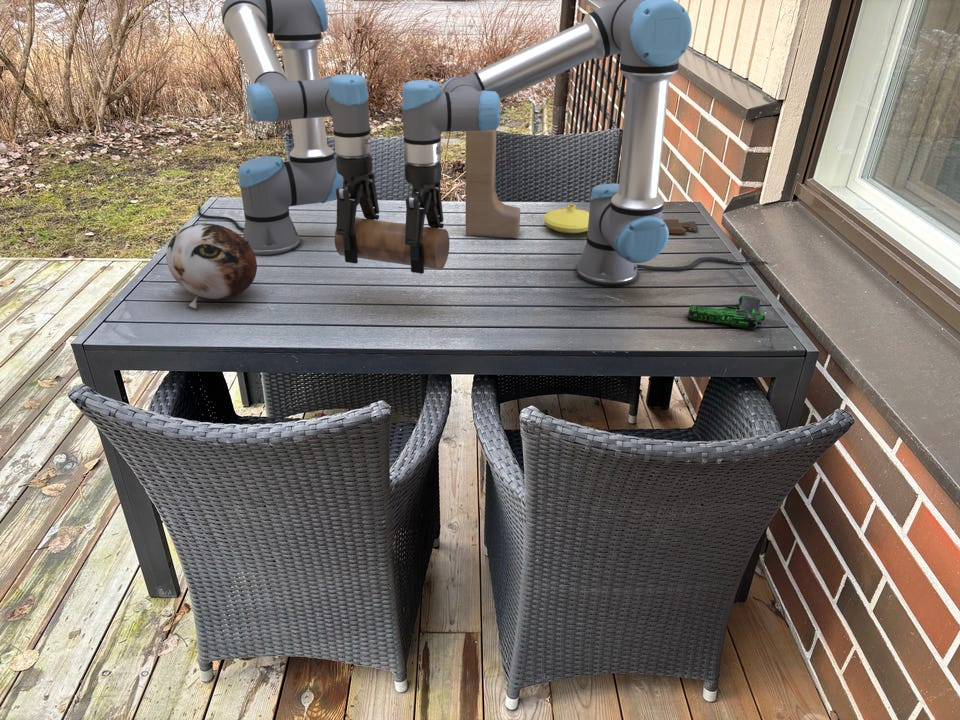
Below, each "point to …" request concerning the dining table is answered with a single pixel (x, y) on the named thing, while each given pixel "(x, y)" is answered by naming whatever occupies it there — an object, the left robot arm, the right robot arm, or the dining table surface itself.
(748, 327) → the handgun
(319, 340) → the dining table surface
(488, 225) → the decorative block
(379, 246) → the rod
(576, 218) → the yellow lid
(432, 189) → the right robot arm
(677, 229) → the brown jagged flat piece
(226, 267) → the cat face balloon
